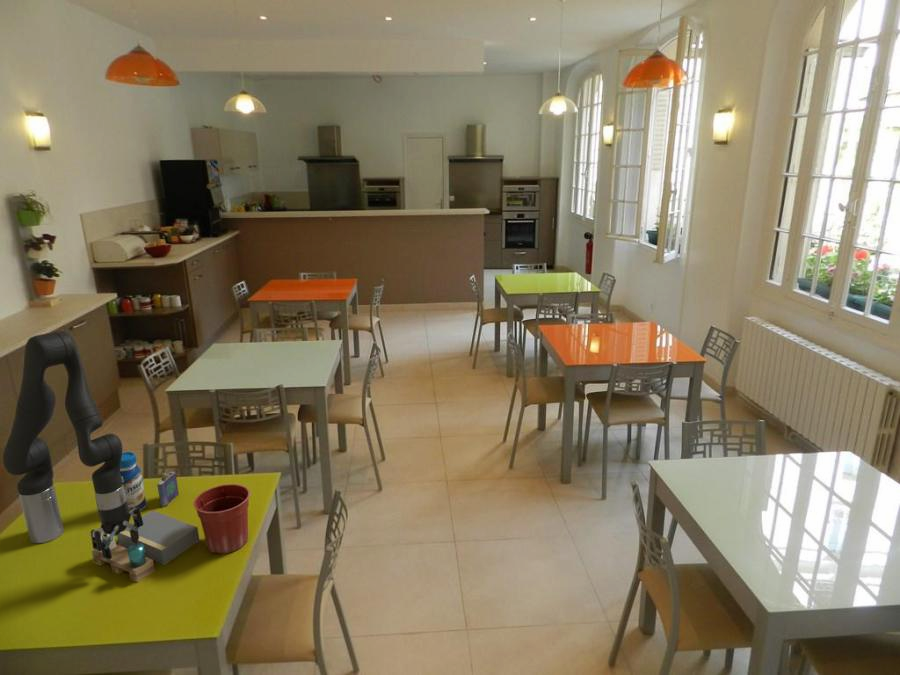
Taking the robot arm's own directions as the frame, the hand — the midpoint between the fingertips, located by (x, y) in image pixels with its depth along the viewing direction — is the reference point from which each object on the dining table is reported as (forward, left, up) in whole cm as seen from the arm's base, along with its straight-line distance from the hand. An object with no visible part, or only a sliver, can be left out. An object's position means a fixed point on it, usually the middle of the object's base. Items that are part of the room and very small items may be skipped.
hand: (122, 549), depth 178 cm
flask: (-19, +31, -6) cm, 37 cm away
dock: (-1, +12, -6) cm, 14 cm away
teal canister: (+7, 0, -2) cm, 7 cm away
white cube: (-8, 0, -2) cm, 8 cm away
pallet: (0, 0, -6) cm, 6 cm away
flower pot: (+18, +22, -6) cm, 30 cm away
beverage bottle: (-26, +22, -6) cm, 35 cm away
